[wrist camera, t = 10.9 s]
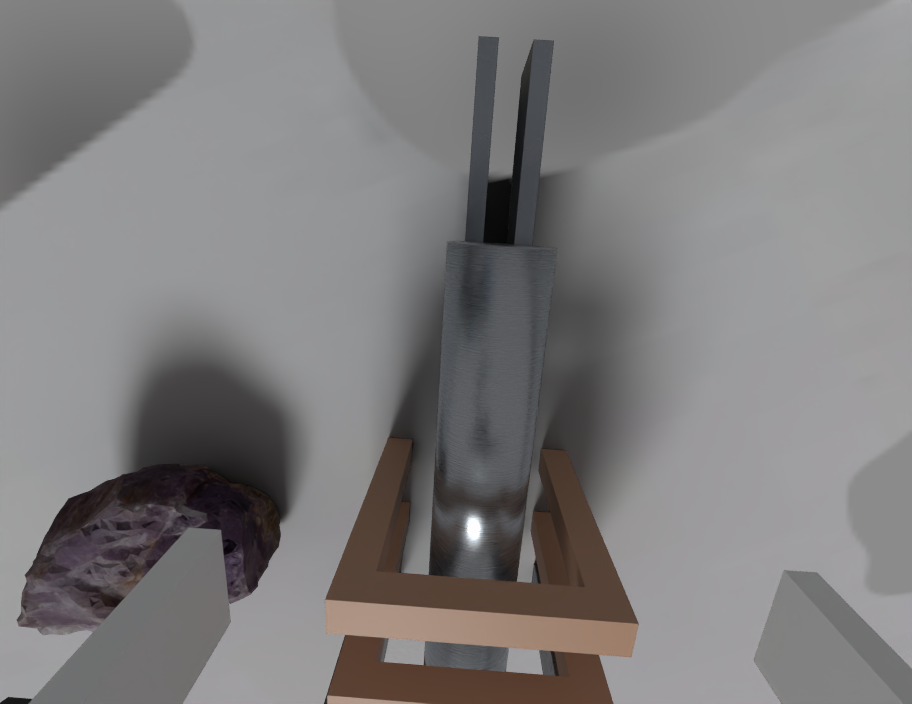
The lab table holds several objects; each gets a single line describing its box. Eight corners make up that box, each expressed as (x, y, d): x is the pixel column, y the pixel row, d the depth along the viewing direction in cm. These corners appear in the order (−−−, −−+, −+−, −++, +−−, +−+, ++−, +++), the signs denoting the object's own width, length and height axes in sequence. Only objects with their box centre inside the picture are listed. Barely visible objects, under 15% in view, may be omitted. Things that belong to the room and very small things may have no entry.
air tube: (449, 240, 20) (444, 243, 16) (547, 246, 20) (567, 251, 16) (426, 652, 27) (418, 733, 22) (499, 658, 27) (505, 740, 22)
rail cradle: (477, 73, 22) (478, 36, 18) (537, 77, 22) (553, 40, 18) (442, 595, 31) (437, 655, 27) (485, 599, 31) (487, 659, 26)
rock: (298, 537, 32) (255, 409, 29) (264, 646, 23) (198, 483, 20) (128, 577, 31) (65, 449, 28) (30, 705, 22) (-73, 543, 20)
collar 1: (388, 437, 28) (325, 599, 16) (565, 450, 28) (638, 623, 16) (388, 459, 28) (325, 633, 16) (562, 471, 28) (631, 657, 16)
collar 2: (387, 500, 29) (327, 695, 17) (556, 513, 29) (617, 719, 17) (386, 520, 29) (327, 724, 17) (553, 532, 29) (611, 747, 17)
